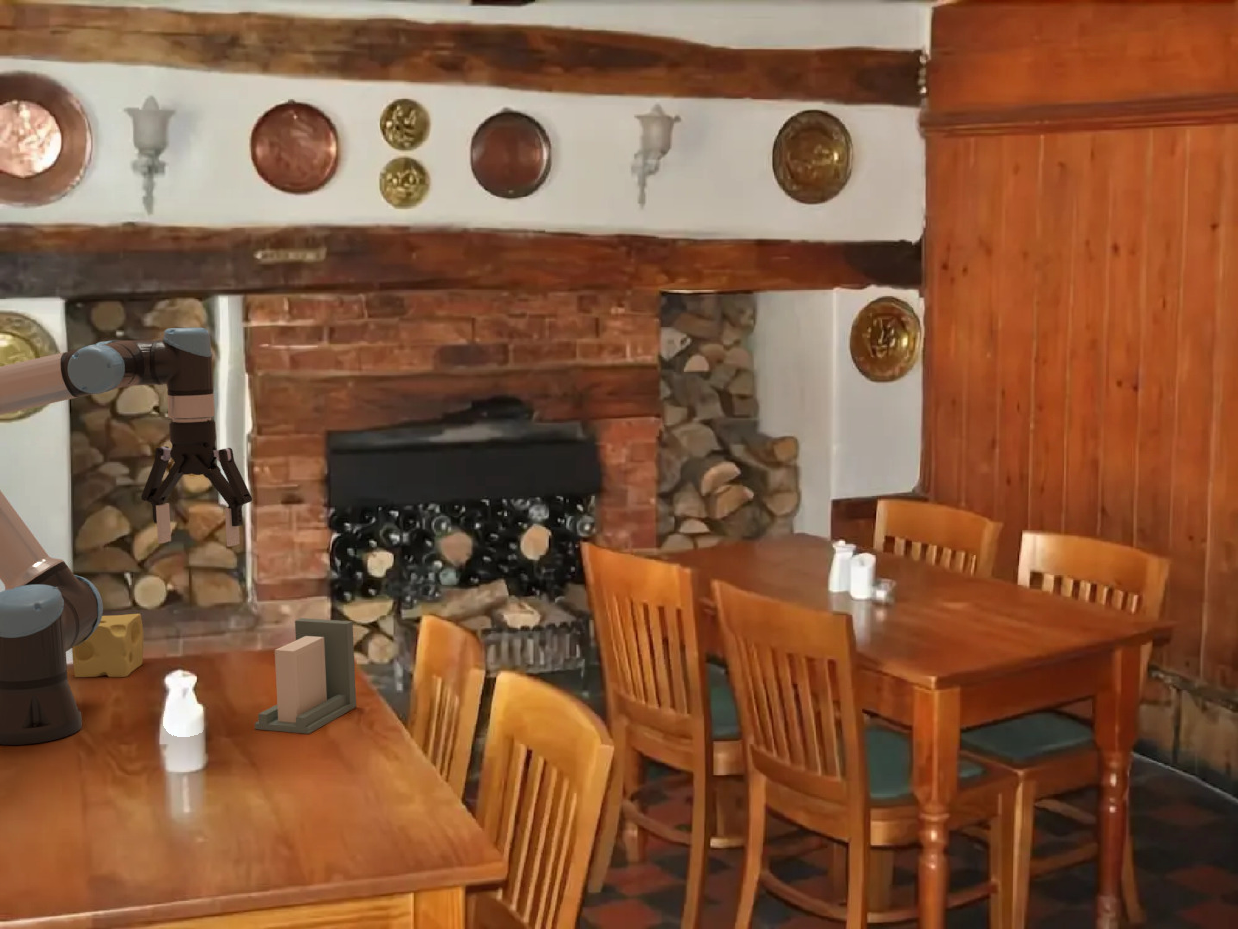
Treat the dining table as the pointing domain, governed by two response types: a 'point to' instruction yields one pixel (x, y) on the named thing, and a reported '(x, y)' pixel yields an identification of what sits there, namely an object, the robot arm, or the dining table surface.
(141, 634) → the cheese
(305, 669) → the door
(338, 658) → the track
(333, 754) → the dining table surface
